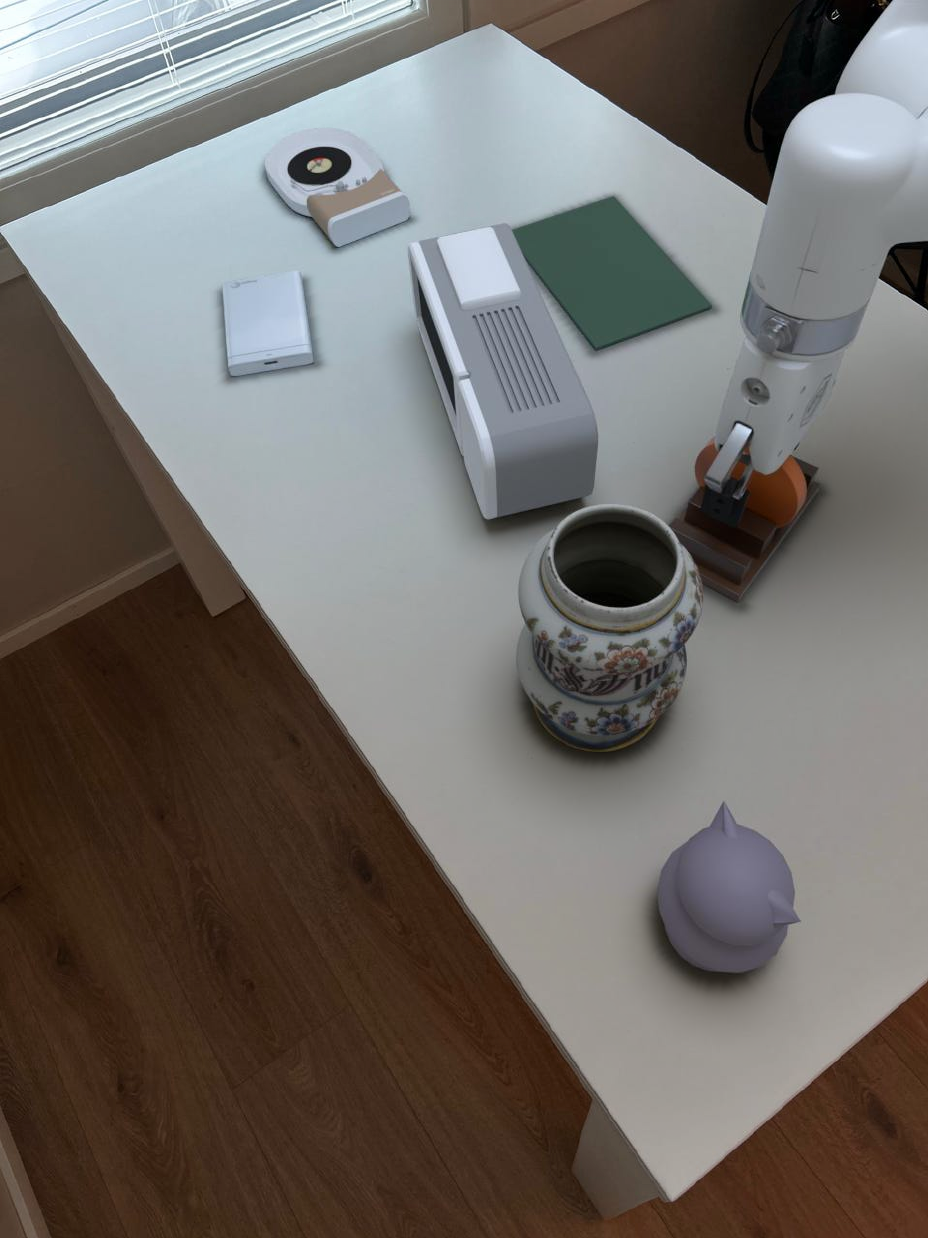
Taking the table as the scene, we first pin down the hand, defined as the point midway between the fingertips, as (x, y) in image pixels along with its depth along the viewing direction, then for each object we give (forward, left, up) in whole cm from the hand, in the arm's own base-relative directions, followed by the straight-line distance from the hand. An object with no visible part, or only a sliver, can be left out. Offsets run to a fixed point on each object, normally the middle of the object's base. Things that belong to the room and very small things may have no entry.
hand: (749, 478), depth 77 cm
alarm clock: (+18, -16, -6) cm, 25 cm away
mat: (+4, -34, -6) cm, 35 cm away
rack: (0, 0, -6) cm, 6 cm away
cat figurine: (+11, +32, -6) cm, 34 cm away
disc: (0, 0, 0) cm, 0 cm away
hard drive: (+39, -32, -6) cm, 51 cm away
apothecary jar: (+15, +14, -6) cm, 21 cm away
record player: (+31, -54, -6) cm, 63 cm away
